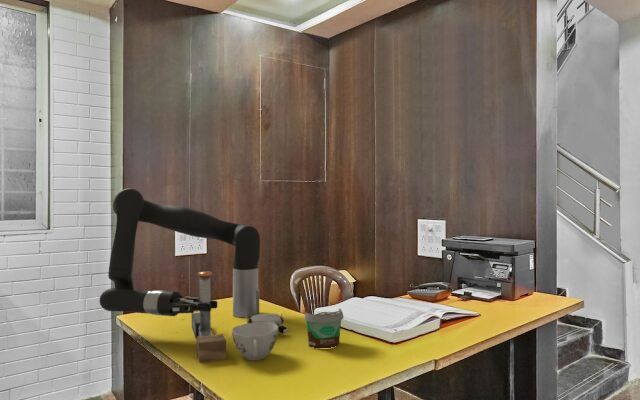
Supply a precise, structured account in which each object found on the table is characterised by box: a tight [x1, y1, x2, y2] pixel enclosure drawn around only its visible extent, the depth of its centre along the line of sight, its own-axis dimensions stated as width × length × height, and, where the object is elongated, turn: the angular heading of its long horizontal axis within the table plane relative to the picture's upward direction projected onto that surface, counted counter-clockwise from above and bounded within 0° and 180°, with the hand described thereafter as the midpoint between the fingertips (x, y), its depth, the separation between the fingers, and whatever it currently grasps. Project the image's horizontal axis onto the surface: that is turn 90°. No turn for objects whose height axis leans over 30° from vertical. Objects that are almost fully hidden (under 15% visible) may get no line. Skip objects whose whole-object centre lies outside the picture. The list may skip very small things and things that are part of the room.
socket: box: [196, 333, 227, 364], centre depth 125 cm, size 6×7×5 cm
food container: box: [303, 308, 344, 349], centre depth 134 cm, size 12×6×10 cm, turn 117°
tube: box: [197, 270, 214, 336], centre depth 142 cm, size 22×4×20 cm, turn 21°
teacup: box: [231, 322, 279, 361], centre depth 124 cm, size 15×12×8 cm
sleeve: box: [191, 312, 212, 339], centre depth 149 cm, size 13×5×5 cm, turn 21°
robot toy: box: [245, 313, 290, 334], centre depth 148 cm, size 12×4×15 cm
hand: (213, 306), depth 137 cm, fingers closed on tube, 3 cm apart
